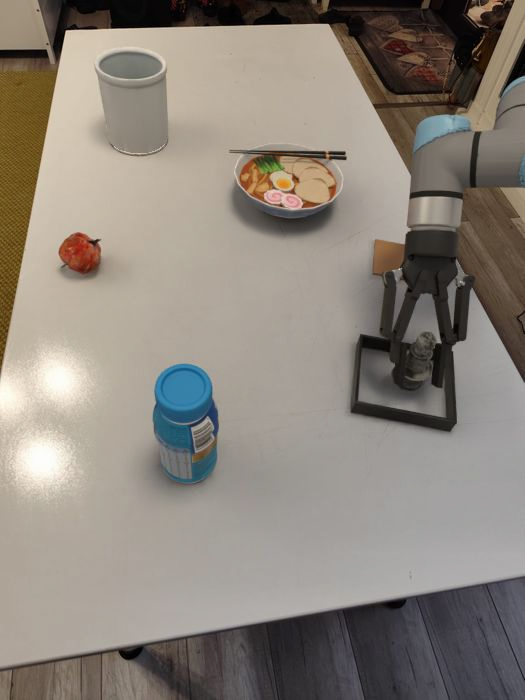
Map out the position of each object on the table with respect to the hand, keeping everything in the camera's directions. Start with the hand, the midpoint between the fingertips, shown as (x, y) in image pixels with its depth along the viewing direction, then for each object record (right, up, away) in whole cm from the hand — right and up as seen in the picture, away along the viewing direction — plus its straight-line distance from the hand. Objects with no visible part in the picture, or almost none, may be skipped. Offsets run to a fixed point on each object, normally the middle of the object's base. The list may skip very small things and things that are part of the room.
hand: (417, 385), depth 80 cm
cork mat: (+4, +23, +25) cm, 34 cm away
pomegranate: (-57, +21, +17) cm, 63 cm away
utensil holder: (-53, +55, +43) cm, 88 cm away
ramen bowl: (-19, +37, +33) cm, 53 cm away
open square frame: (-1, -1, +7) cm, 7 cm away
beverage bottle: (-35, -11, -3) cm, 36 cm away
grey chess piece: (0, +1, +5) cm, 5 cm away
